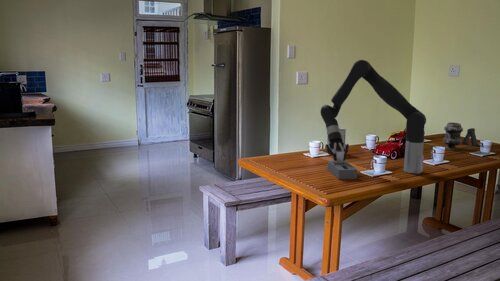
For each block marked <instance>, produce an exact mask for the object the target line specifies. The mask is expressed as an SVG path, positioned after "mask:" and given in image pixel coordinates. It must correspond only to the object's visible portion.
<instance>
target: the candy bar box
mask: <svg viewBox="0 0 500 281" xmlns="http://www.w3.org/2000/svg"><path fill="white" fill-rule="evenodd" d="M339 129H340V132H341V137H342V141H343V143H344V144H346V133H347V132H346V129H345V128H343V127H342V128H340V127H339ZM326 142H327V143H326V144H327V145H328V144H329V140H328V136H327V139H326ZM329 148H330V149H331V151H332V148H331V147H329ZM343 149H344V152H345V148H344V146H343ZM326 154H328V152H327V151H326Z"/></svg>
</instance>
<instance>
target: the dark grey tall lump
mask: <svg viewBox="0 0 500 281" xmlns="http://www.w3.org/2000/svg"><path fill="white" fill-rule="evenodd" d="M443 128H444V131H445V134H444V137H443V138H442V142H443V143H444V144H446V146H444V147H445V150H449V151H459V150H460V148H459V147H457V146H458V145H462V142H463V140H462V139H461V134H462V133H463V131H464V128H463V127H462V124H461V123H459V122H450V121H449V122H447V124H446V125H445V126H444V127H443Z"/></svg>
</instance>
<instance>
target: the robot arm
mask: <svg viewBox="0 0 500 281" xmlns="http://www.w3.org/2000/svg"><path fill="white" fill-rule="evenodd" d="M361 78H363V80H364V81H366V82H367V83H368V84H369V85H370V86H371V87H372V89H373V91H374V92H375V93H376V94H377V95H378V97H379V98H380V99H381V100H382V101H383V102H384V103H386V104H387V105H388V106H390V107H391V108H392V109H394V110H396V111H397V112H399V114H401V115H402V116H403V117H404V118H405V119H406V125H405V150H404V162H403V172H405V173H408V174H419V175H420V174H421V173H422V172H423V169H424V158H425V155H424V146H425V145H424V143H425V125H426V123H427V117H426V115H425V114H424V113H423V112H422V111H420V110H419V109H418V108H417V107H415V106H414V105H412V104H411V103H410V102H409V101H408V100H407V98H406V97H405V96H404V95H403V94H402V93H401V92H400V90H398V89H397V88H396V87H395V86H394V85H393V84H392V83H390V82H389V81H388V80H387V79H385V77H383V76H381V75H380V74H379V73H378V72H377V71H376V69H374V67H373V66H372V65H371V64H370V62H369V61H368V60H365V59H358V60H356V61H355V62H354V63H353V65H352V67H351V68H350V71H349V73H348V74H347V76H346V78H345V79H344V81H343V82H342V84H341V85H340V87H339V88H338V89H337V91H336V92H335V93H334V95H333V96H332V98H331V101H330V102H331V103H332V104H333V106H331V105H329V104H324V105H322V106H321V108H320V115H321V119H322V120H323V122H324V124H325V127H326V134H327V136H328V140H329V144H328V145H327V143H326V144H325V145H324V149H325V150H326V153H327V152H328V153H327V154H328V155H329V156H332V161H334V160H335V161H337V157H336V154H335V151H336V150H342V151H344V149H343V146H344V148H345V152H344V159H343V161H346V158H347V157H346V155H347V154H348V153H349V146H350V145H349V143H345V144H344V143H343V141H342V137H341V132H340V129H339V128H340V127H339V122H338V120H337V119H336V118H337V117H338V115H339V112H340V110H341V108H342V106H343V104H344V103H345V101H346V100H347V98H348V97H349V96H350V94H351V92H352V90H353V89H354V87H355V86H356V84H357V83H358V81H359V80H361ZM329 147H331V148H332V151H331V149H330V148H329Z"/></svg>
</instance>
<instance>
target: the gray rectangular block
mask: <svg viewBox="0 0 500 281" xmlns="http://www.w3.org/2000/svg"><path fill="white" fill-rule="evenodd" d="M335 154H336V157H337V161H335V160H333V161H334V163H335V164H343V159H344V151H342V150H336V151H335Z"/></svg>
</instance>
